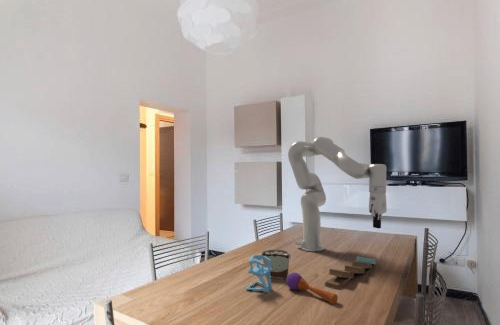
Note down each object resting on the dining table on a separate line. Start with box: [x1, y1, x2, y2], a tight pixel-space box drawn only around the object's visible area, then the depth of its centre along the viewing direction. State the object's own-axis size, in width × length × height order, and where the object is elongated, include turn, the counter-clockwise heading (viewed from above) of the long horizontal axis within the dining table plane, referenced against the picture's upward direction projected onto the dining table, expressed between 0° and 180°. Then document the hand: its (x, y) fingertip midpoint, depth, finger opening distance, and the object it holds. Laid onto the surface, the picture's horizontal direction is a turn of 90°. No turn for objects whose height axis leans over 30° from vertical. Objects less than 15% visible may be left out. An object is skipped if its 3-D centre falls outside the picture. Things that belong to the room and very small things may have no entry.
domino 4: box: [351, 260, 373, 270], centre depth 126 cm, size 2×5×10 cm
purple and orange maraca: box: [286, 271, 339, 305], centre depth 103 cm, size 6×6×20 cm
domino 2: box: [324, 276, 351, 290], centre depth 112 cm, size 2×5×10 cm
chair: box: [245, 254, 273, 293], centre depth 109 cm, size 8×8×12 cm
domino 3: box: [343, 265, 366, 274], centre depth 120 cm, size 2×5×10 cm
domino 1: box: [329, 268, 355, 279], centre depth 114 cm, size 2×5×10 cm
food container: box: [261, 249, 292, 280], centre depth 122 cm, size 12×6×10 cm, turn 71°
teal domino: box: [356, 256, 377, 265], centre depth 131 cm, size 2×5×10 cm
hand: (376, 227), depth 141 cm, fingers closed
